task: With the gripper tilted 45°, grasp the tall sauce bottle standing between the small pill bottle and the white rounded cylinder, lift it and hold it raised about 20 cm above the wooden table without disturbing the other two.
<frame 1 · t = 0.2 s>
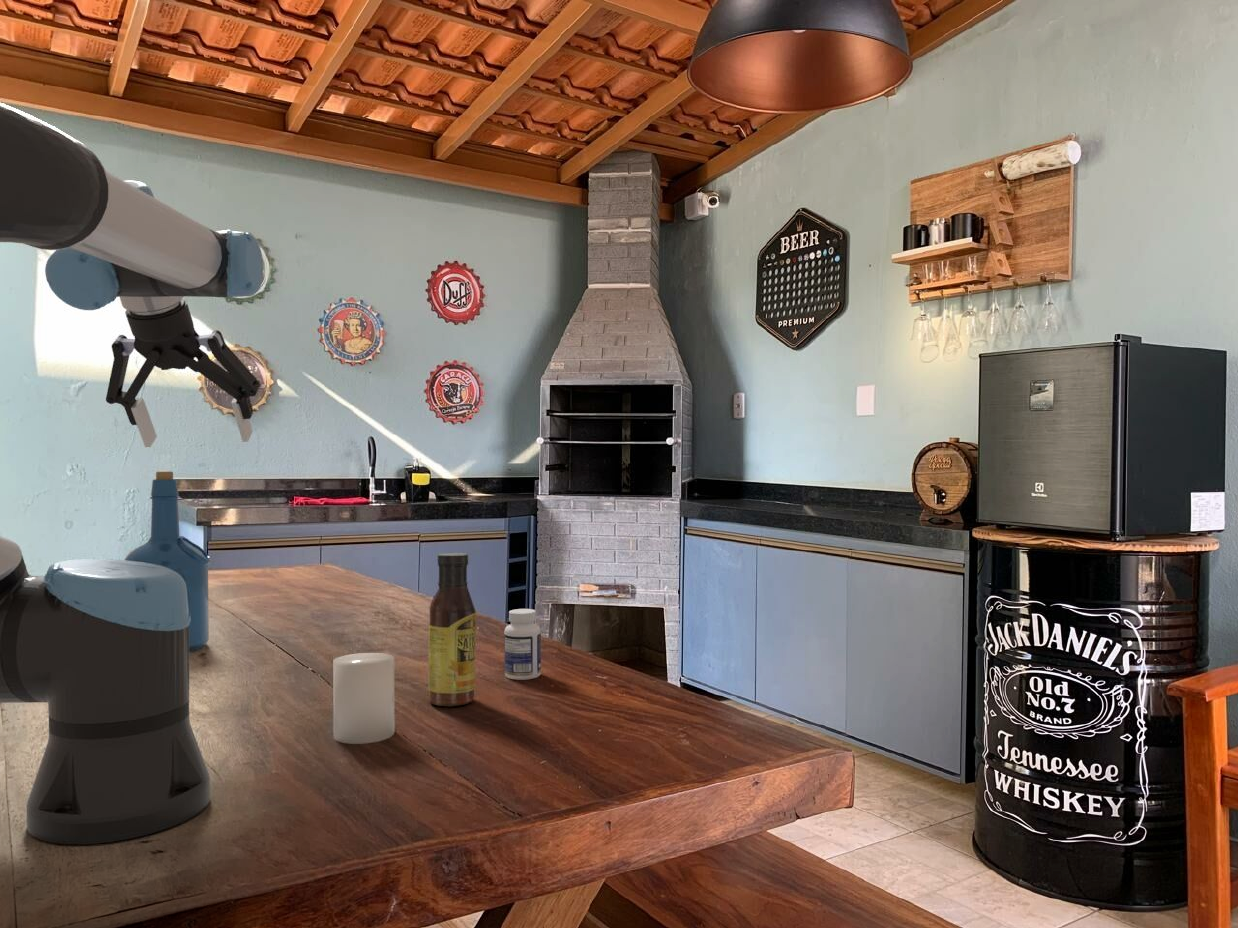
hand: (199, 439, 134), 35 cm above the table, tool tilted 35°, fingers open, 13 cm apart
white rounded cylinder: (364, 734, 111), on the table
wine bottle: (167, 650, 157), on the table
sauce bottle: (452, 703, 125), on the table
pill bottle: (522, 677, 139), on the table
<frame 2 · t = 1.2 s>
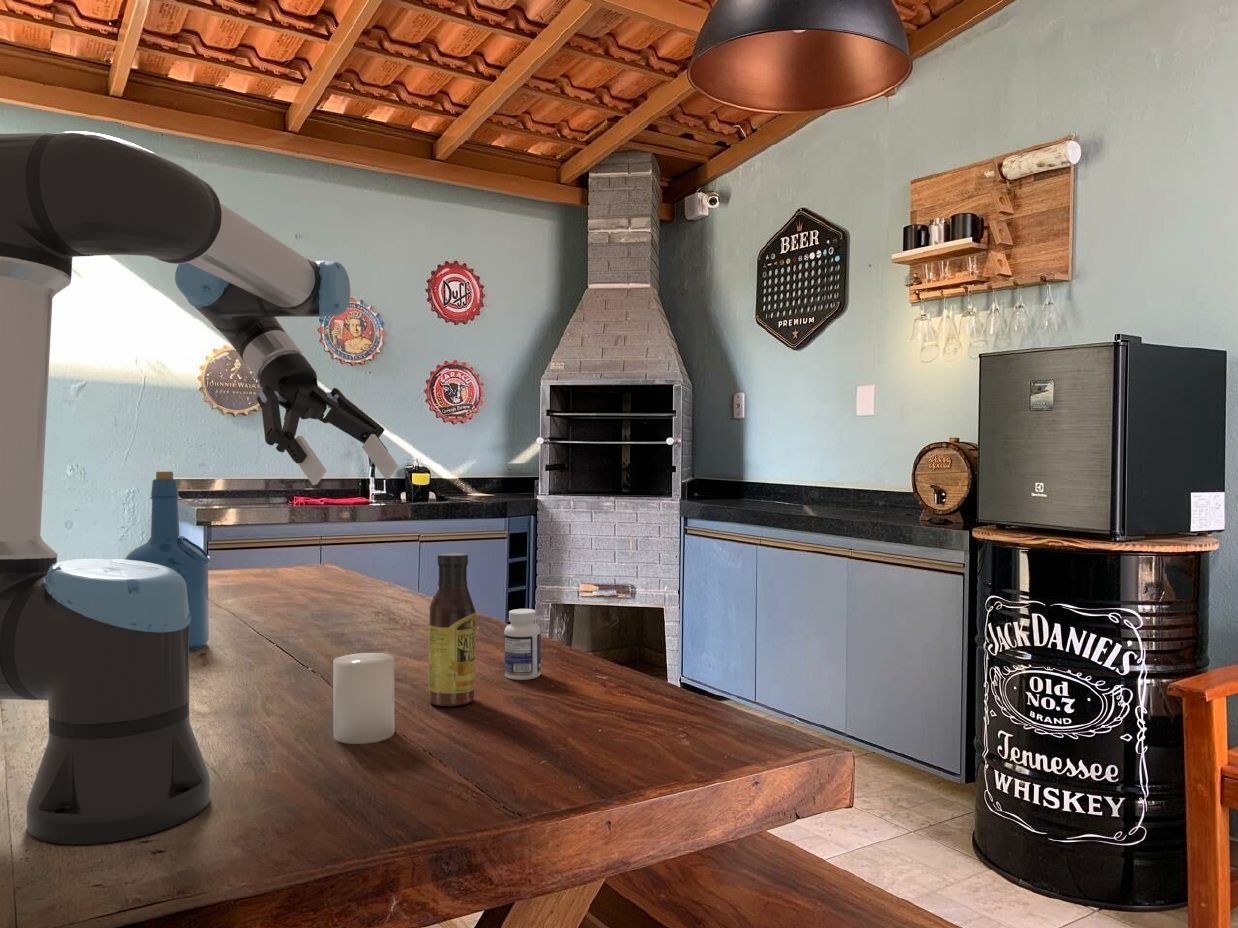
hand: (357, 475, 130), 30 cm above the table, tool tilted 45°, fingers open, 13 cm apart
nothing on the table moved.
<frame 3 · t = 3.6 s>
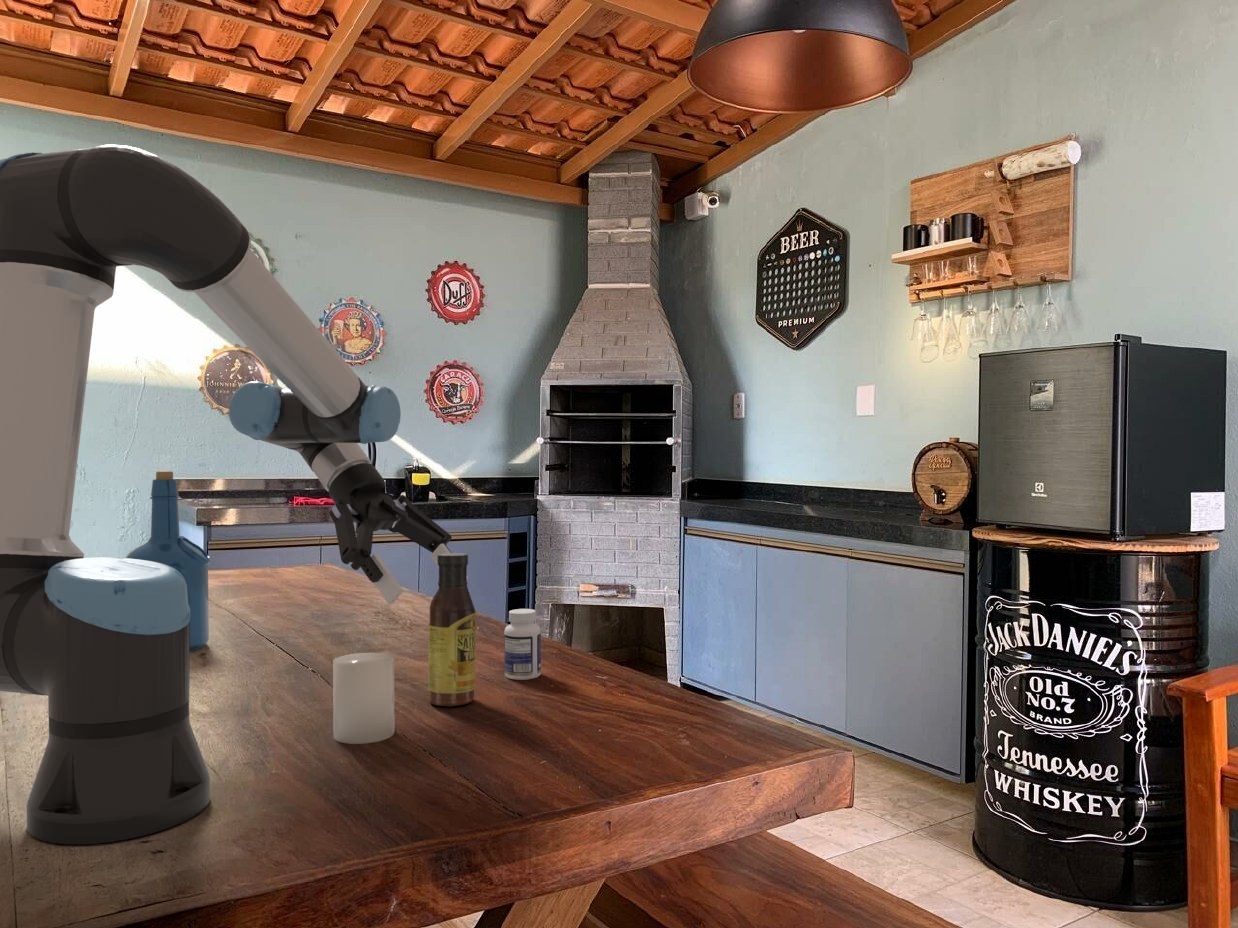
hand: (430, 590, 128), 14 cm above the table, tool tilted 45°, fingers open, 13 cm apart
nothing on the table moved.
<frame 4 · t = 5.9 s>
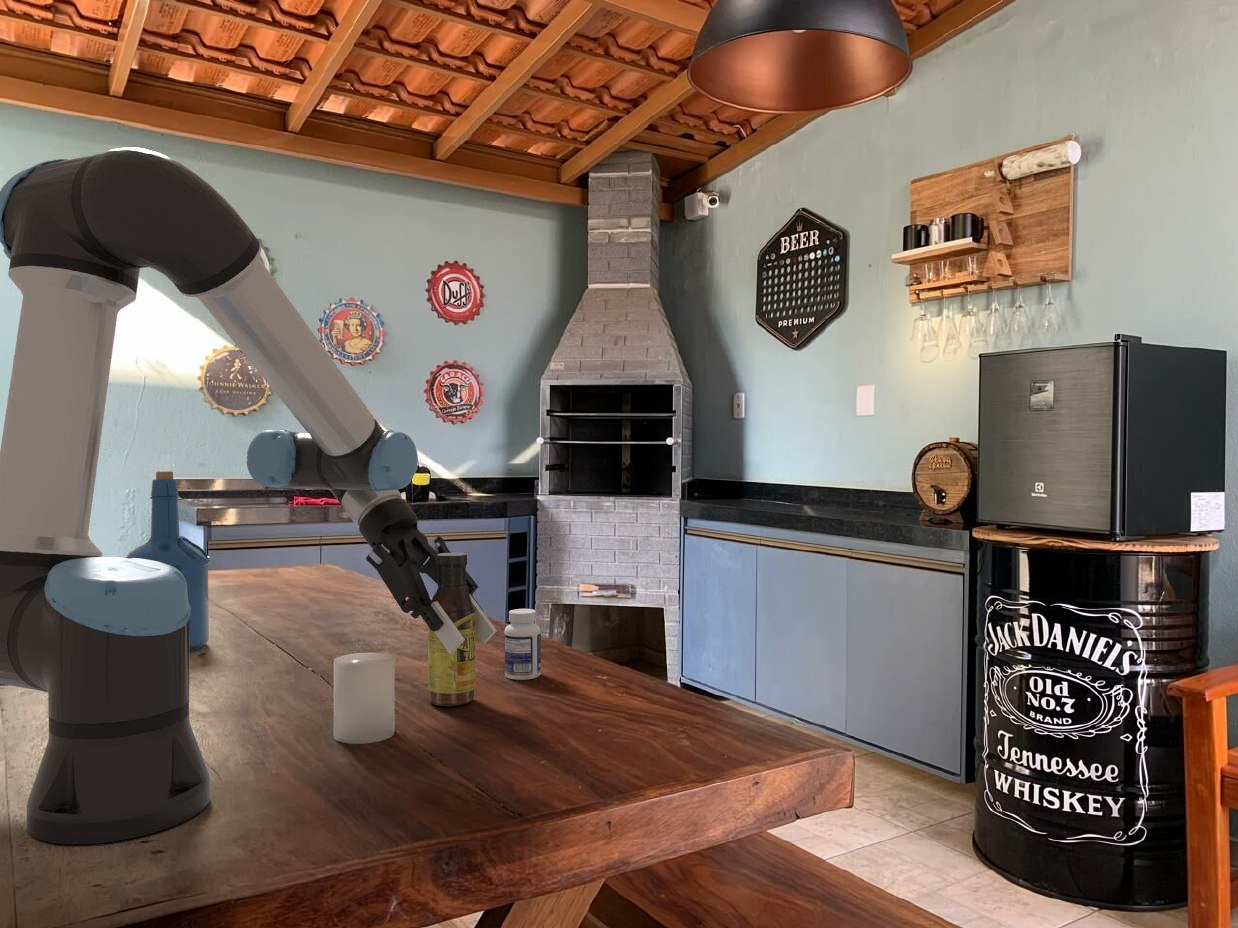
hand: (473, 641, 123), 8 cm above the table, tool tilted 45°, fingers closed on sauce bottle, 6 cm apart
sauce bottle: (452, 702, 125), on the table, touching gripper
everything else where it was.
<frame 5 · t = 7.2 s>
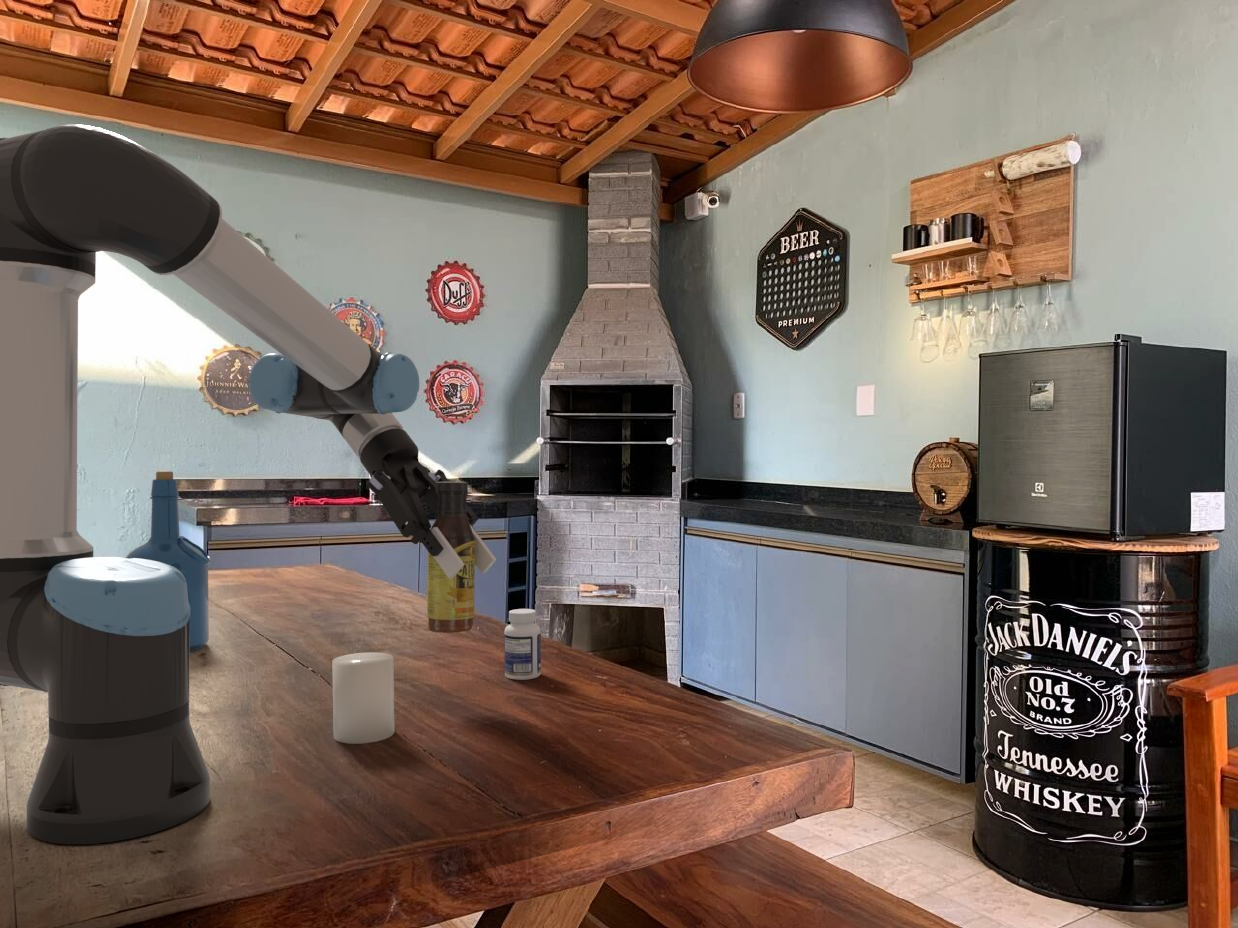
hand: (473, 568, 123), 18 cm above the table, tool tilted 45°, fingers closed on sauce bottle, 6 cm apart
sauce bottle: (451, 631, 125), point 9 cm above the table, touching gripper
everything else where it was.
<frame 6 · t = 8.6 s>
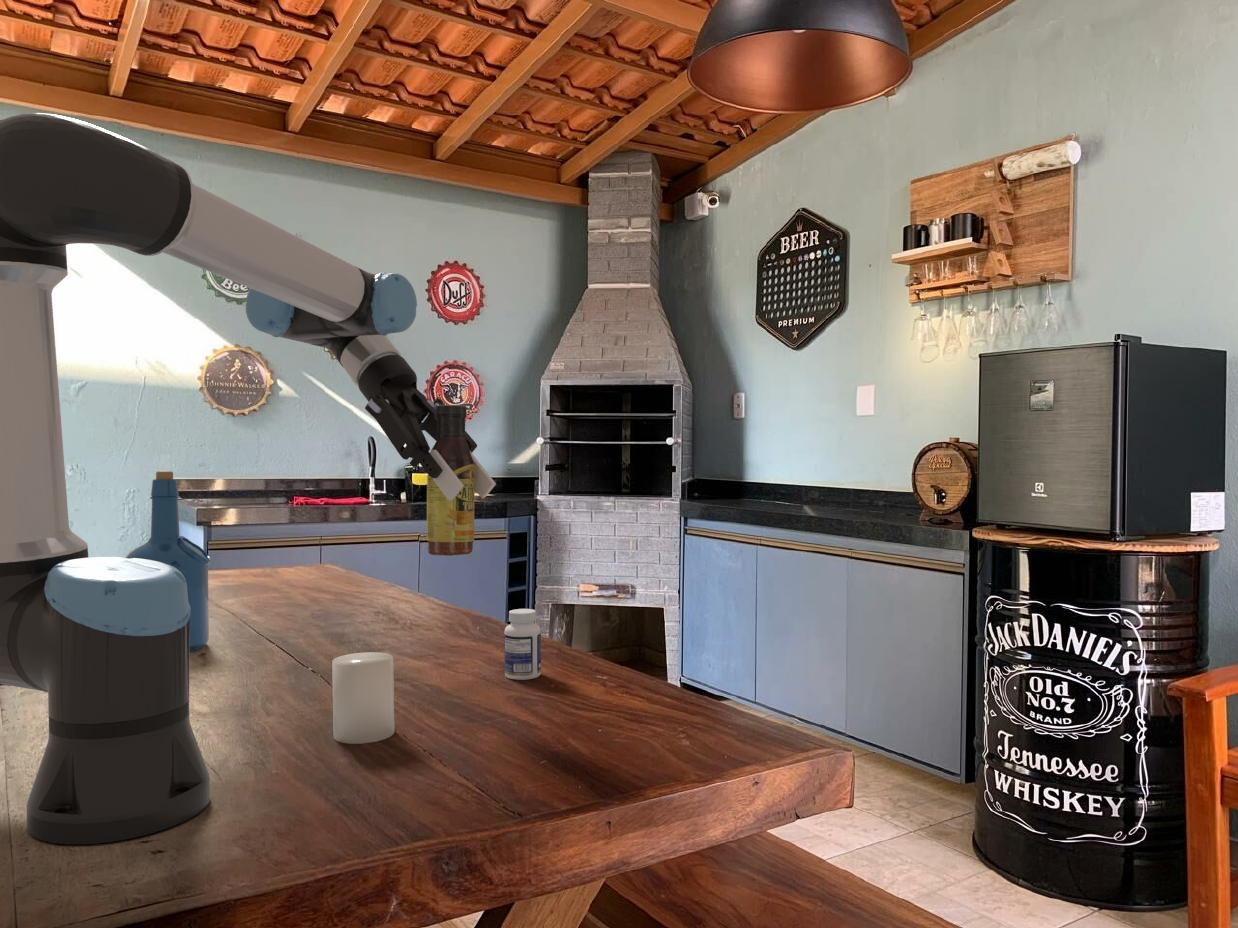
hand: (472, 491, 123), 28 cm above the table, tool tilted 45°, fingers closed on sauce bottle, 6 cm apart
sauce bottle: (451, 555, 125), point 20 cm above the table, touching gripper
everything else where it was.
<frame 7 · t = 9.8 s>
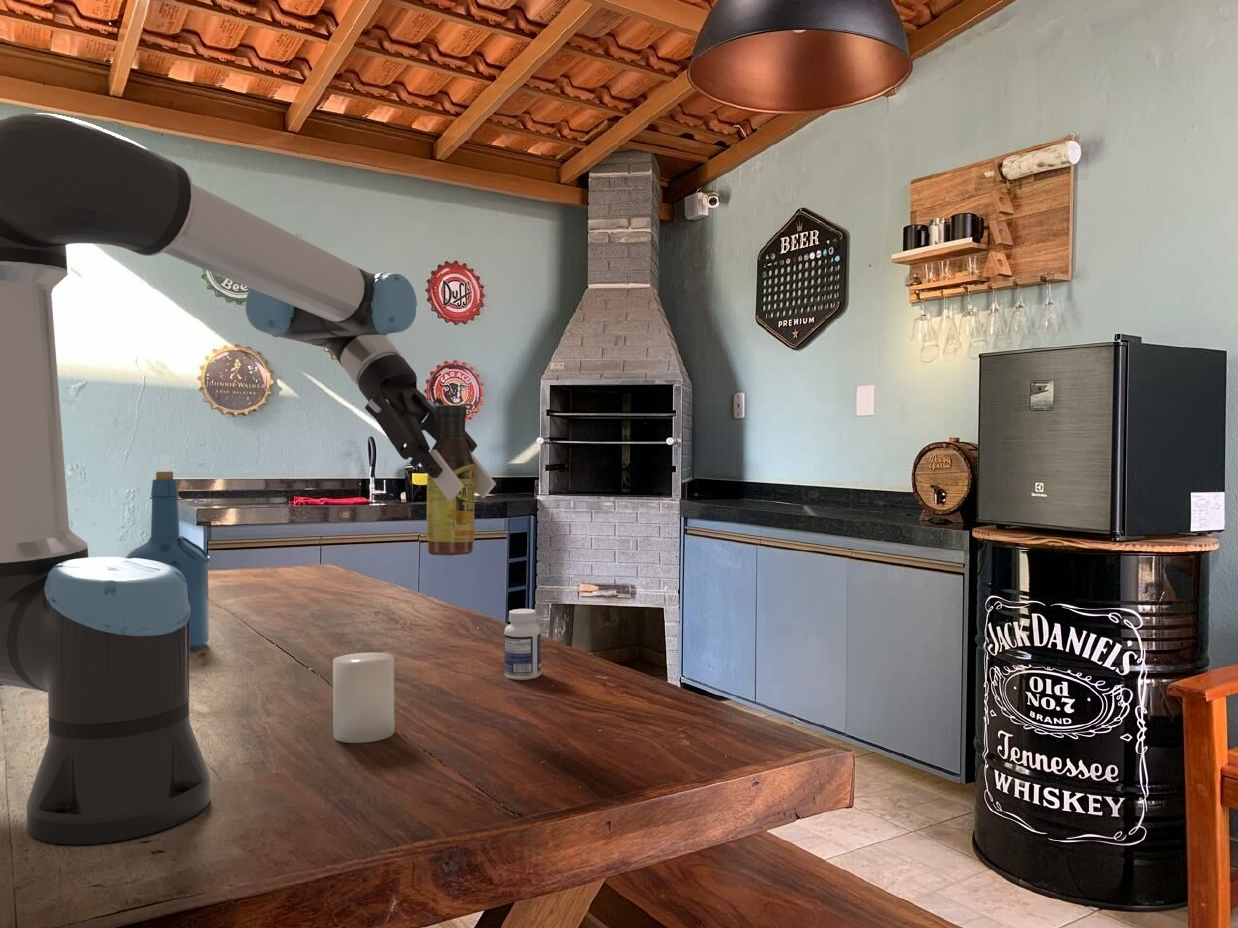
hand: (472, 491, 123), 28 cm above the table, tool tilted 45°, fingers closed on sauce bottle, 6 cm apart
sauce bottle: (450, 555, 125), point 20 cm above the table, touching gripper
everything else where it was.
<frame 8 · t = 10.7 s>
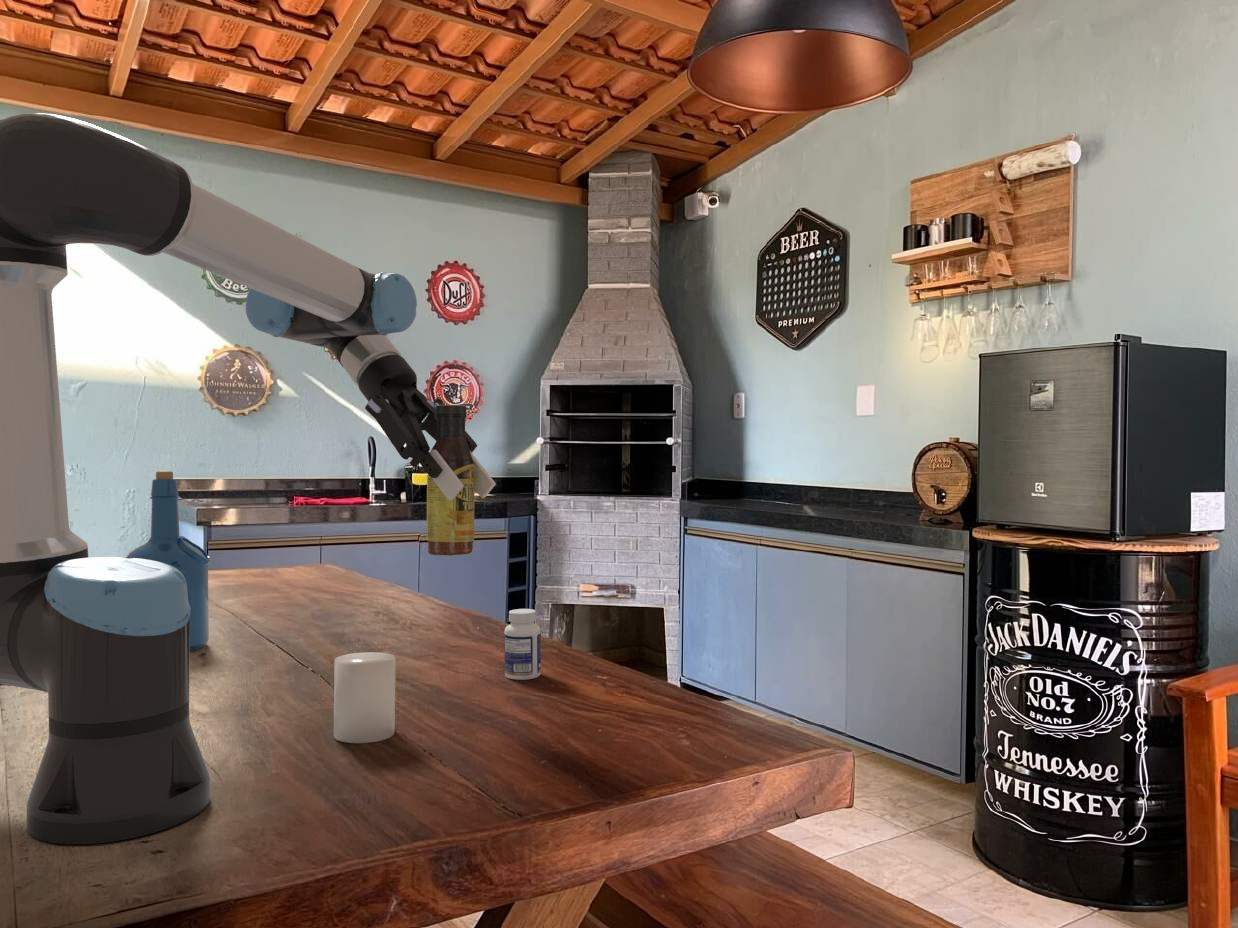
hand: (472, 491, 123), 28 cm above the table, tool tilted 45°, fingers closed on sauce bottle, 6 cm apart
sauce bottle: (450, 555, 125), point 20 cm above the table, touching gripper
everything else where it was.
at the end: the gripper is holding sauce bottle; sauce bottle point 19.7 cm above the table; white rounded cylinder moved 0.0 cm from its start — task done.
